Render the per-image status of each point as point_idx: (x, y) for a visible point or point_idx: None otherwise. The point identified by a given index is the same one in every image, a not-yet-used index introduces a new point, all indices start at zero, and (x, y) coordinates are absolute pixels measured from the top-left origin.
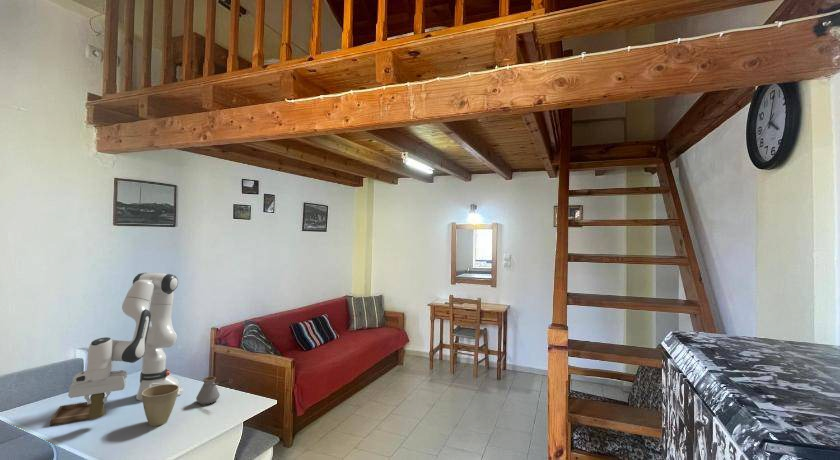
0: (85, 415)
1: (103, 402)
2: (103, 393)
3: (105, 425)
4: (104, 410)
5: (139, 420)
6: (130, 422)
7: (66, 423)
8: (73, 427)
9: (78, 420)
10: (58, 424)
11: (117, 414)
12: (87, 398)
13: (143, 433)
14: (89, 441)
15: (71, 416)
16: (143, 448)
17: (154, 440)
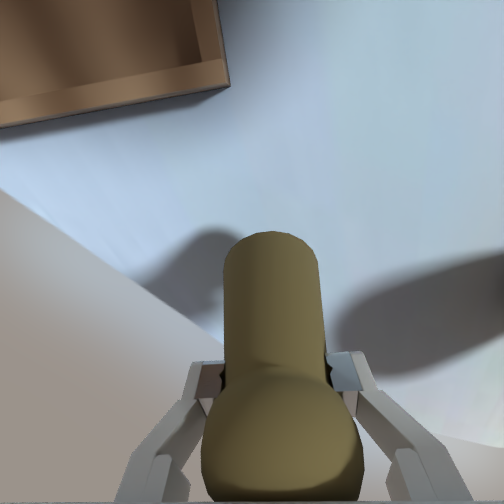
0: (146, 97)
1: (325, 349)
2: (356, 499)
3: (310, 228)
4: (319, 285)
5: (477, 221)
6: (430, 232)
7: (64, 116)
8: (150, 198)
9: (121, 106)
10: (23, 123)
11: (358, 44)
12: (185, 458)
13: (462, 350)
14: None
15: (54, 114)
16: (442, 421)
17: (481, 396)
